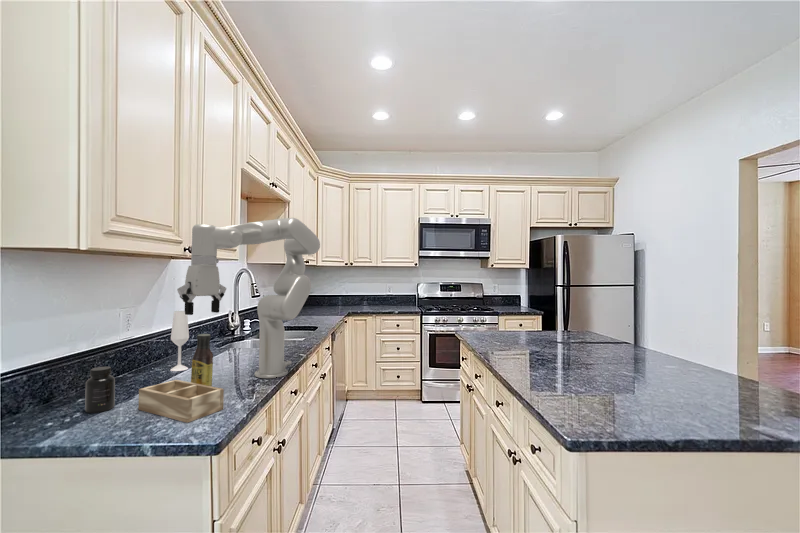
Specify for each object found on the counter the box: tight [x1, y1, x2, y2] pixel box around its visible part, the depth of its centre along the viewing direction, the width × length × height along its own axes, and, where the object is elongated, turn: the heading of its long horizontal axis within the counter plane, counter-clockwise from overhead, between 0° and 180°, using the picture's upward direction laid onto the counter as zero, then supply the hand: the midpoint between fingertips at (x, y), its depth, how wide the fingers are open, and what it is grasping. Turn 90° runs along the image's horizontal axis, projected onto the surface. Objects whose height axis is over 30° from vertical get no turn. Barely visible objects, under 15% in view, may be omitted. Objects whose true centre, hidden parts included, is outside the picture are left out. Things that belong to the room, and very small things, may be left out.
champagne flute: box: [169, 310, 190, 372], centre depth 159 cm, size 7×7×24 cm
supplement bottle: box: [84, 366, 116, 414], centre depth 112 cm, size 7×7×12 cm
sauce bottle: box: [190, 333, 214, 387], centre depth 126 cm, size 7×6×20 cm
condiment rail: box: [137, 379, 225, 424], centre depth 112 cm, size 11×22×6 cm, turn 65°
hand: (202, 313), depth 126 cm, fingers open, 9 cm apart
